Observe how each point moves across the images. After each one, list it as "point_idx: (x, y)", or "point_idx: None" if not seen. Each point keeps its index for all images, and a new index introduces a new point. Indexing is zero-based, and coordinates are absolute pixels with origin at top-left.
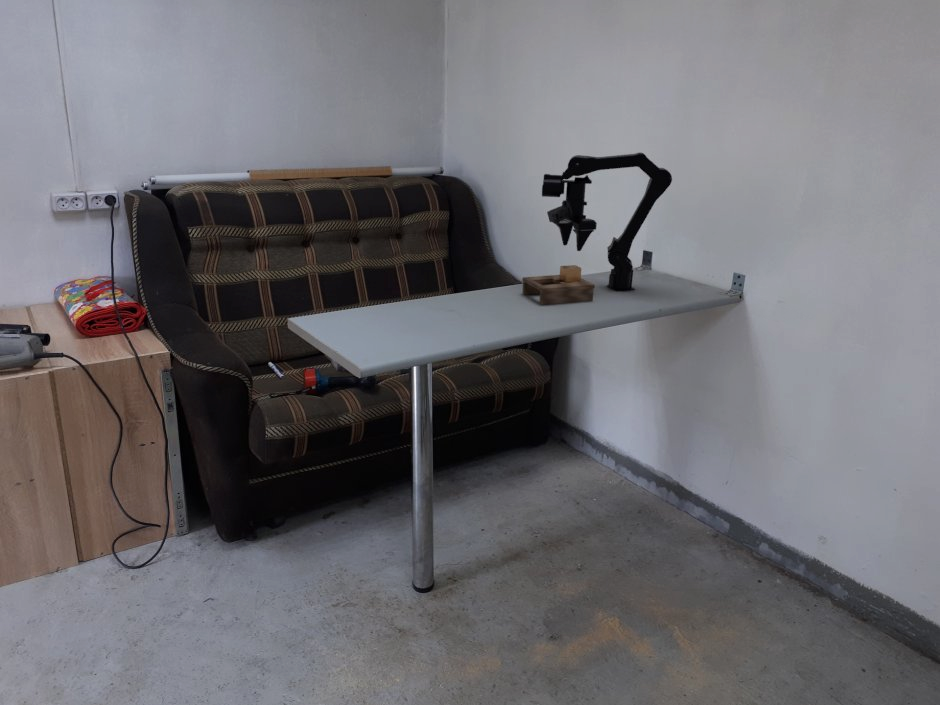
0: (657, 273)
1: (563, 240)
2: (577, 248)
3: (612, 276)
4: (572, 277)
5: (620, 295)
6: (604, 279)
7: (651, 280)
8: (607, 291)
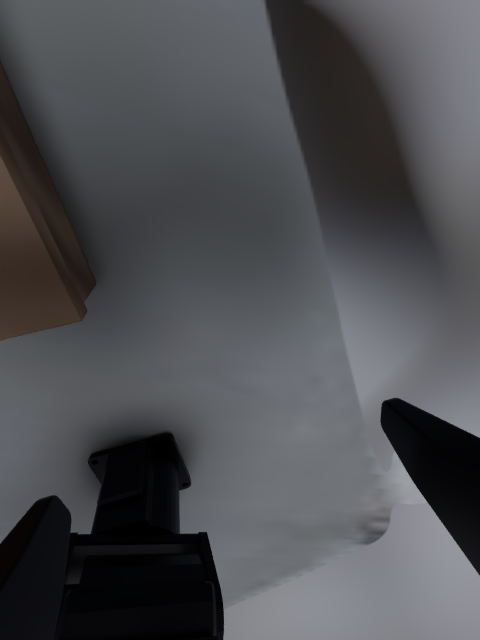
0: (323, 553)
1: (427, 439)
2: (12, 531)
3: (107, 494)
4: None
5: (30, 457)
6: (288, 438)
7: (251, 541)
8: (96, 424)
